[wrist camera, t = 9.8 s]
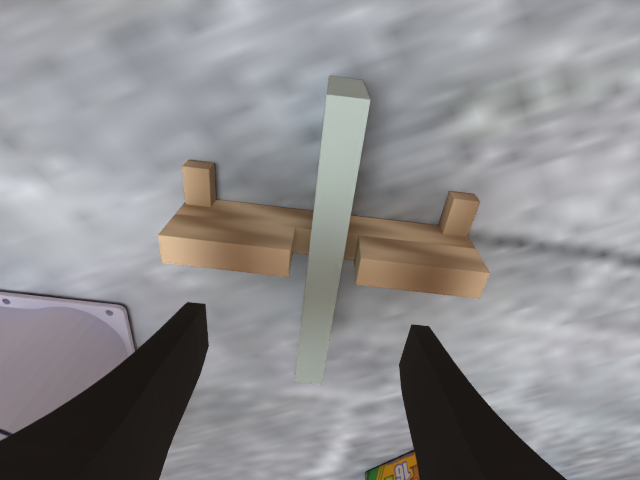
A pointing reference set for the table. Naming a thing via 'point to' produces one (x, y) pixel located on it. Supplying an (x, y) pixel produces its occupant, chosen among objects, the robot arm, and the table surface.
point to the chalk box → (396, 469)
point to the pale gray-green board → (331, 219)
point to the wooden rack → (295, 233)
